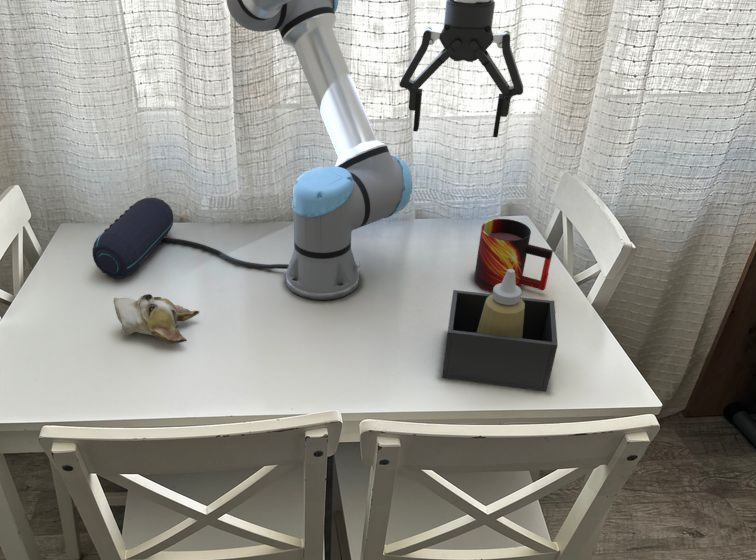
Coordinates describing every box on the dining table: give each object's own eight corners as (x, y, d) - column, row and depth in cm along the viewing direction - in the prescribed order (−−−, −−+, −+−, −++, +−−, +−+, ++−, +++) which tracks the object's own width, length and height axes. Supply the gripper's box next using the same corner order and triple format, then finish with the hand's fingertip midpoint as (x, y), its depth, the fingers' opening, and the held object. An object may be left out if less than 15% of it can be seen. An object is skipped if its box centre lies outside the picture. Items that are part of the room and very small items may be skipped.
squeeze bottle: (469, 344, 132) (482, 258, 121) (513, 344, 131) (530, 258, 121) (476, 372, 125) (490, 283, 114) (522, 372, 125) (541, 283, 114)
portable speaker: (142, 228, 172) (135, 189, 166) (180, 233, 170) (175, 194, 164) (89, 281, 153) (80, 239, 147) (132, 287, 151) (124, 245, 145)
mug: (544, 295, 146) (556, 243, 139) (475, 292, 148) (483, 239, 140) (538, 271, 154) (548, 220, 147) (472, 268, 155) (479, 217, 148)
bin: (441, 377, 125) (447, 332, 119) (447, 333, 136) (453, 289, 130) (546, 391, 122) (557, 345, 116) (544, 345, 133) (554, 300, 127)
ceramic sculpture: (122, 275, 137) (198, 284, 136) (127, 313, 142) (200, 322, 141) (102, 306, 129) (183, 316, 128) (107, 345, 134) (186, 354, 133)
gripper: (388, -1, 112) (380, 133, 124) (554, 6, 107) (529, 145, 119) (394, -10, 117) (387, 119, 130) (553, -4, 113) (529, 129, 125)
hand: (455, 131), depth 125 cm, fingers open, 13 cm apart
